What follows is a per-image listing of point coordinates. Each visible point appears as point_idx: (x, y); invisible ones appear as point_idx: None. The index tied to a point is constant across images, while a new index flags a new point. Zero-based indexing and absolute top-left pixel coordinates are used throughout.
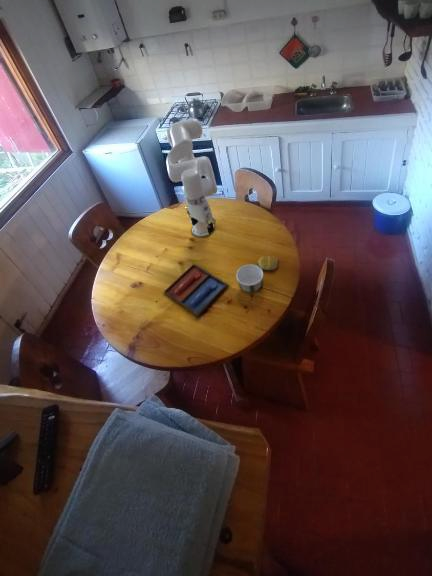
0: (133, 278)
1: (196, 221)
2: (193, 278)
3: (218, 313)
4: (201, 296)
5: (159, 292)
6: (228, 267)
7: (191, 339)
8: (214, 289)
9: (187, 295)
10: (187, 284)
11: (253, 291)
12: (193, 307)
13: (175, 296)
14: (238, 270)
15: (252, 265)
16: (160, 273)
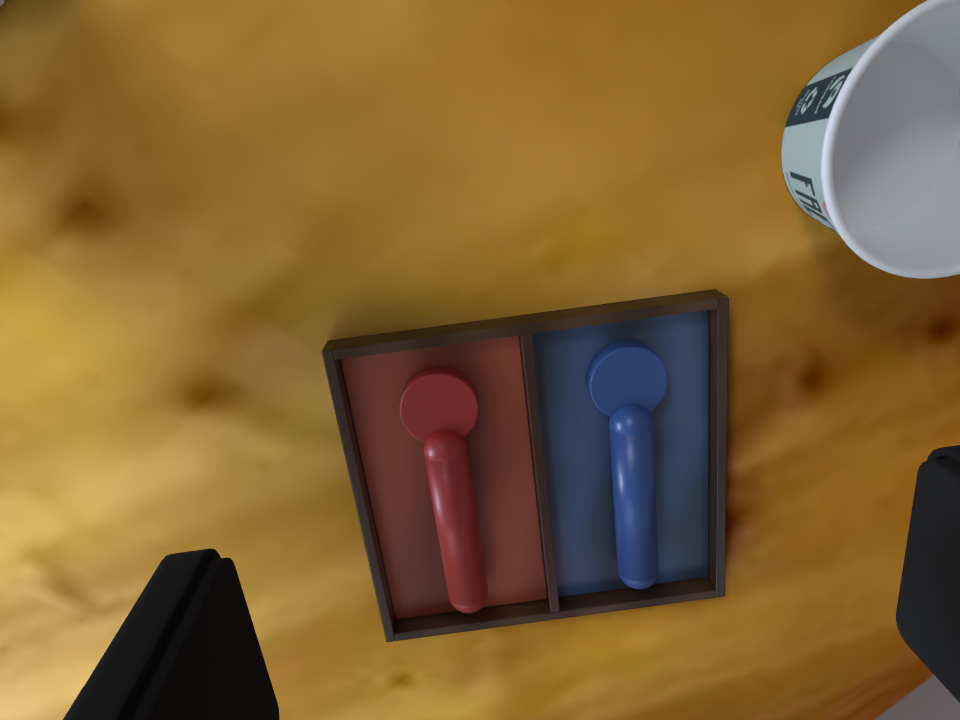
0: None
1: (222, 669)
2: (466, 453)
3: (805, 483)
4: (654, 514)
5: (349, 639)
6: (580, 138)
7: (778, 673)
8: None
9: (550, 560)
10: (475, 513)
11: (929, 187)
12: None
13: None
14: (832, 181)
15: (922, 16)
16: None
